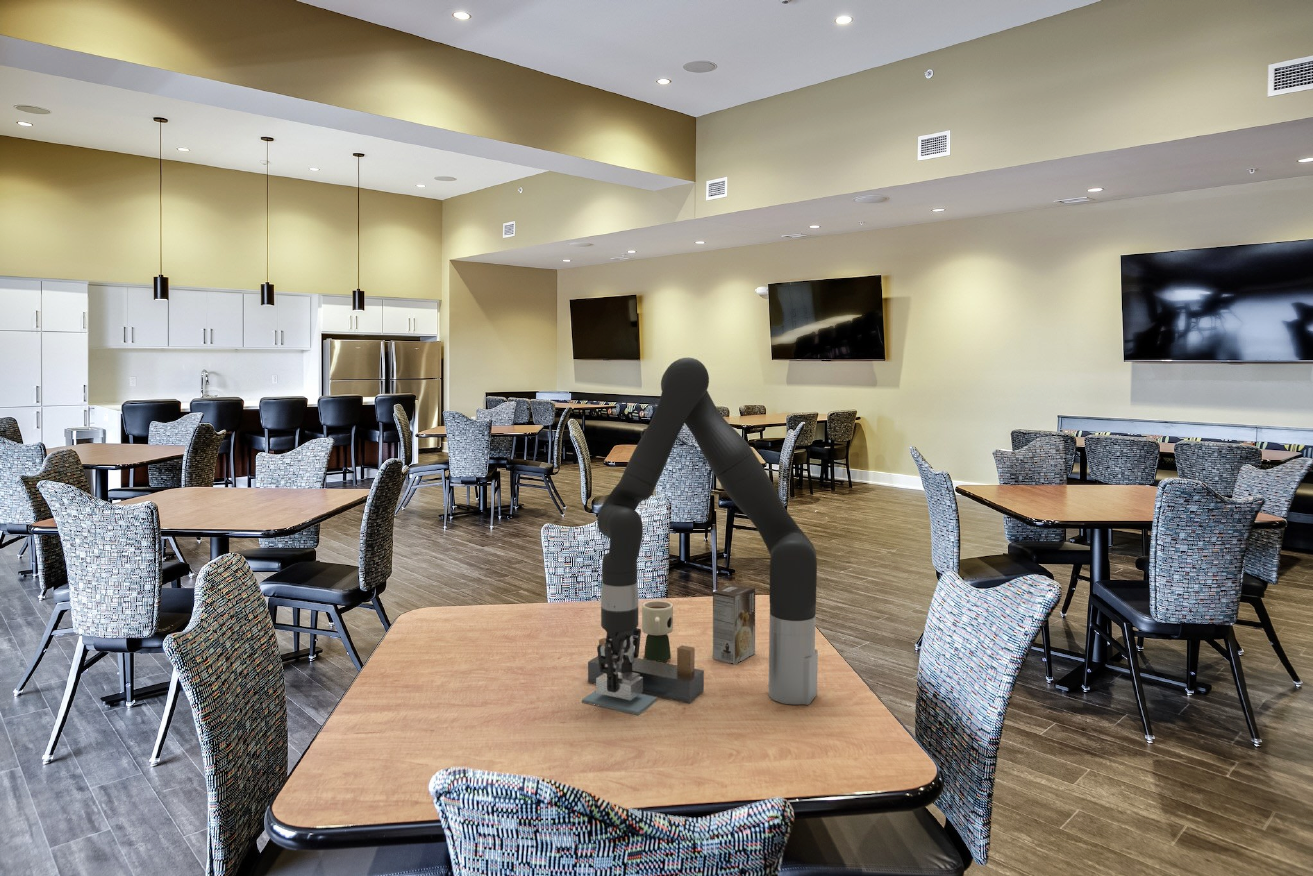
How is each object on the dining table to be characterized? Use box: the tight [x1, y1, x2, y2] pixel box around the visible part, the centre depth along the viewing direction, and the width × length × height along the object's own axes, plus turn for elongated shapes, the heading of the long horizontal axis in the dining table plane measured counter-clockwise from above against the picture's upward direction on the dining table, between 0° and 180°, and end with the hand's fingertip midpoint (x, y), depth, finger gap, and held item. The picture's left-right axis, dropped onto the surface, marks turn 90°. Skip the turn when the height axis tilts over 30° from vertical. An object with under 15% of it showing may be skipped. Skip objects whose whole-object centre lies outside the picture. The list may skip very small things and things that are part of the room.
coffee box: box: [712, 583, 756, 665], centre depth 188 cm, size 9×6×16 cm
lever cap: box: [595, 671, 643, 700], centre depth 162 cm, size 8×5×4 cm, turn 63°
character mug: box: [641, 600, 674, 662], centre depth 186 cm, size 11×7×13 cm, turn 179°
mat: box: [581, 689, 658, 716], centre depth 163 cm, size 13×8×1 cm, turn 63°
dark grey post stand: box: [587, 637, 705, 704], centre depth 170 cm, size 24×7×10 cm, turn 63°
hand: (619, 686), depth 162 cm, fingers open, 5 cm apart
